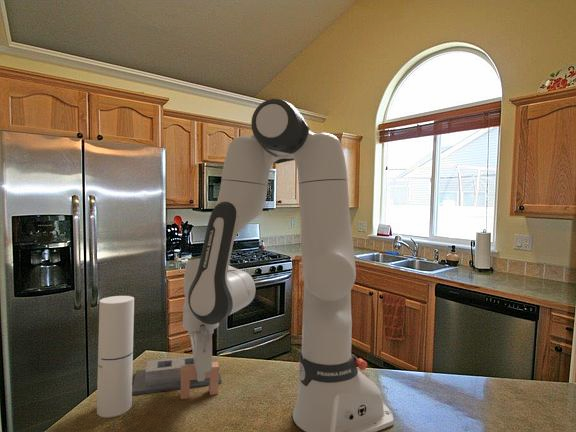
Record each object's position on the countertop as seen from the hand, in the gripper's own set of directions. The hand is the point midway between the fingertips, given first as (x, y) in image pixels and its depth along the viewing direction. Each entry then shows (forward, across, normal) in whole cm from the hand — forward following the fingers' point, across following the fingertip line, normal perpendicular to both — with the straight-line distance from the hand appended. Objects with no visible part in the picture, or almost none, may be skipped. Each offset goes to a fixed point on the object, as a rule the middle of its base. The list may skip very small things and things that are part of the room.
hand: (199, 374), depth 85 cm
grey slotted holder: (+5, +10, +5) cm, 12 cm away
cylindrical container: (+5, -1, +19) cm, 20 cm away
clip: (+5, 0, 0) cm, 5 cm away
